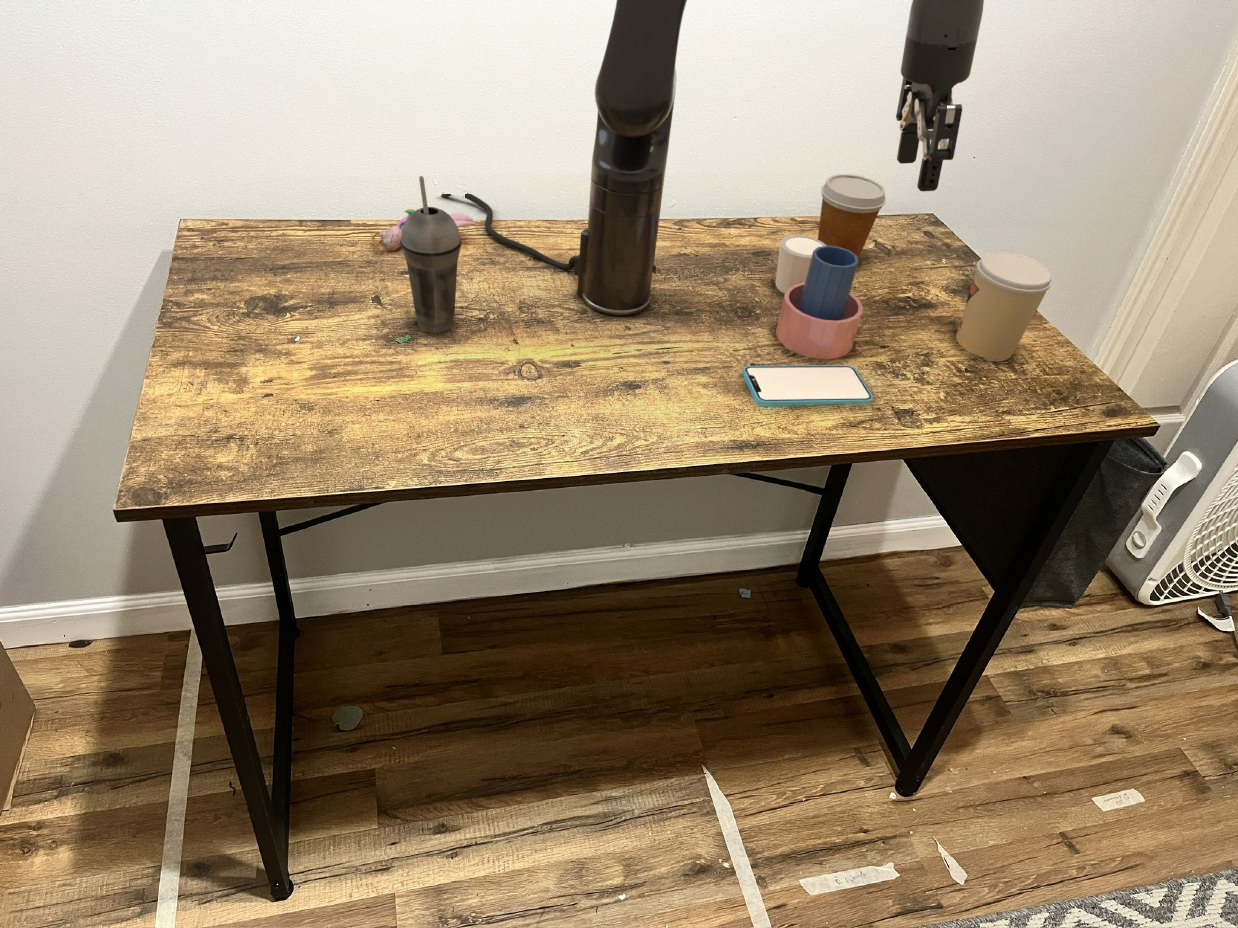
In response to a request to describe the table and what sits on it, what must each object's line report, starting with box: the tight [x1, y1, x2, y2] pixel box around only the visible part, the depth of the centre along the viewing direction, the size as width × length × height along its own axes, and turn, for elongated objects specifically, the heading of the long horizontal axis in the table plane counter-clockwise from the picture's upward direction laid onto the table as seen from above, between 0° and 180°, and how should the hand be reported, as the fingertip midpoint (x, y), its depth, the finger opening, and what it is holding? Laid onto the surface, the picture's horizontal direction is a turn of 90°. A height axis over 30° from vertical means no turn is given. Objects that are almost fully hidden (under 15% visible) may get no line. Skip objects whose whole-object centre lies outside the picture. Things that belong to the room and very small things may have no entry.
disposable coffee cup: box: [817, 173, 887, 259], centre depth 134 cm, size 10×10×12 cm
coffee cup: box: [955, 251, 1053, 362], centre depth 118 cm, size 9×9×12 cm
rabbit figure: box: [370, 208, 476, 253], centre depth 129 cm, size 6×6×15 cm
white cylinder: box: [774, 234, 827, 294], centre depth 127 cm, size 7×7×7 cm
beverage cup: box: [400, 175, 463, 334], centre depth 108 cm, size 7×7×20 cm
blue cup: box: [799, 246, 859, 321], centre depth 115 cm, size 6×6×12 cm
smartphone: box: [742, 364, 874, 408], centre depth 110 cm, size 8×1×15 cm
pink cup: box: [775, 282, 864, 360], centre depth 117 cm, size 10×10×6 cm
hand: (916, 176), depth 108 cm, fingers open, 8 cm apart
